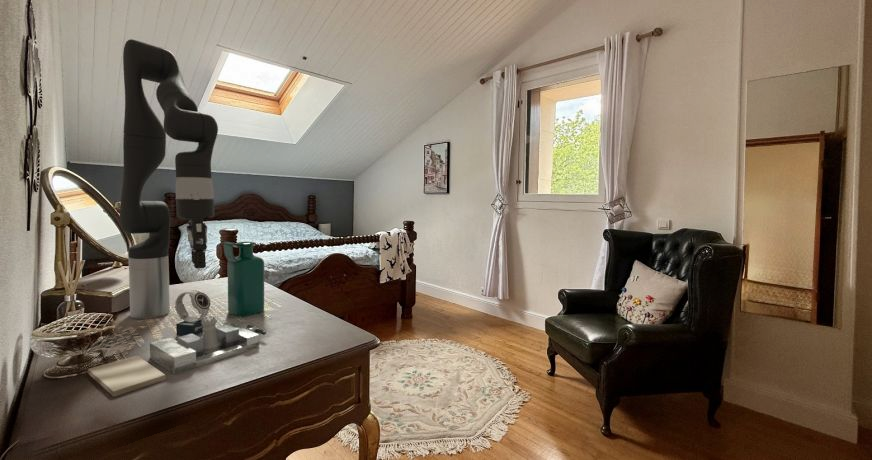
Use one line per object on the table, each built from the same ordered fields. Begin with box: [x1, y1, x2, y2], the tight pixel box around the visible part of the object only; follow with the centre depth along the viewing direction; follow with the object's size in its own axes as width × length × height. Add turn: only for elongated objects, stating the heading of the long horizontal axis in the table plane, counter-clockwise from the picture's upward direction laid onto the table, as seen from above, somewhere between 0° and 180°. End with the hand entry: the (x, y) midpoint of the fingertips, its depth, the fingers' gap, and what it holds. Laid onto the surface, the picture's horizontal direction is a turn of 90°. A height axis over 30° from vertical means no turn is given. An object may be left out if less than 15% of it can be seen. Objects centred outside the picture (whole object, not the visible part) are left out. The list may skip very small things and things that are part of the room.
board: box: [87, 355, 166, 398], centre depth 74 cm, size 14×8×1 cm, turn 57°
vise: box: [149, 323, 267, 375], centre depth 87 cm, size 12×21×4 cm, turn 147°
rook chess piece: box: [201, 315, 221, 355], centre depth 86 cm, size 4×4×8 cm
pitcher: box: [222, 241, 265, 318], centre depth 114 cm, size 10×8×22 cm
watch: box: [174, 289, 211, 337], centre depth 97 cm, size 6×8×11 cm
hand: (198, 265), depth 89 cm, fingers open, 8 cm apart
